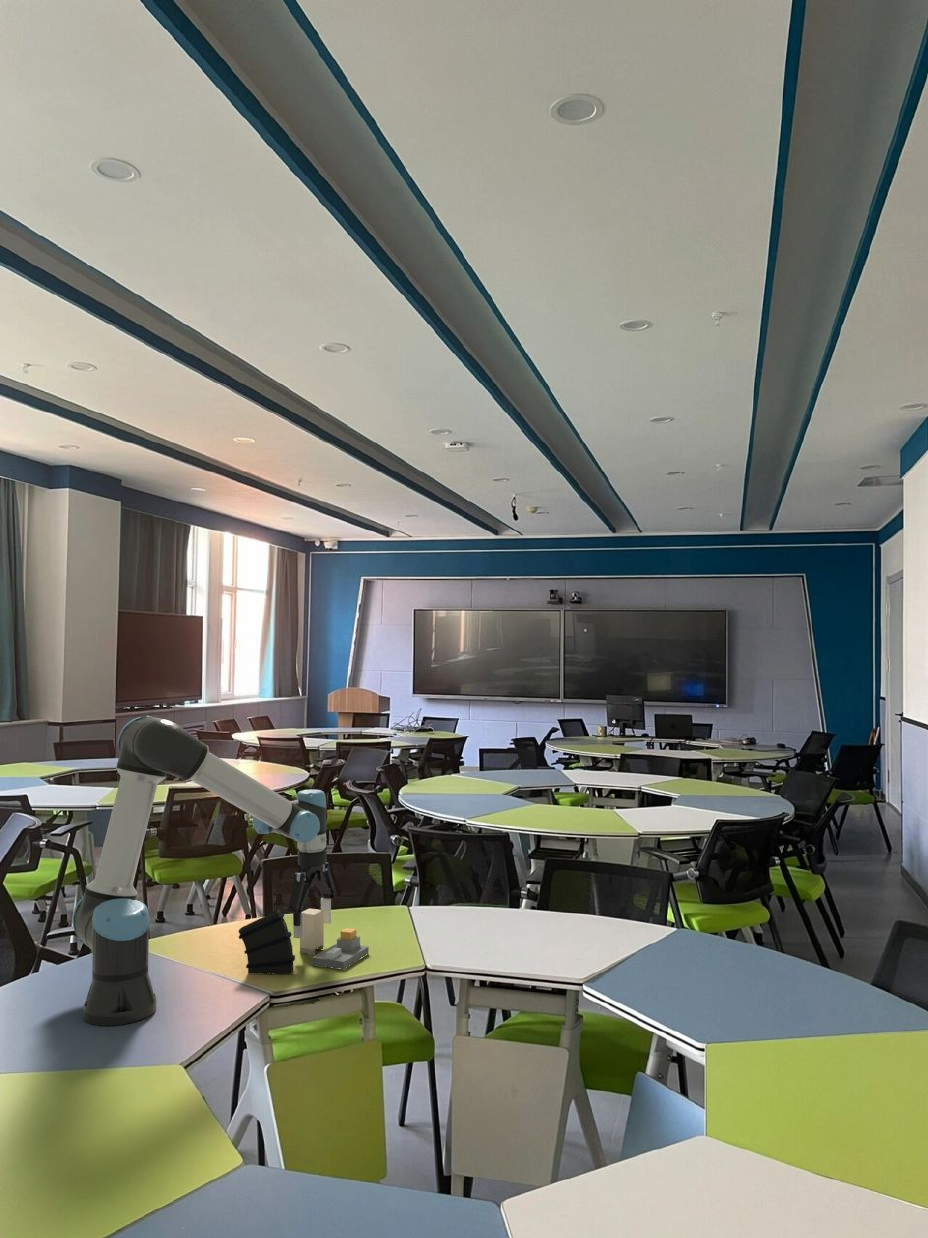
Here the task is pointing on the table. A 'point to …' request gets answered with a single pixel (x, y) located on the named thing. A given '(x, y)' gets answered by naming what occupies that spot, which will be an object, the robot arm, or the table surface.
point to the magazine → (268, 945)
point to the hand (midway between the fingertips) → (312, 930)
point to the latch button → (348, 934)
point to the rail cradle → (341, 954)
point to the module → (312, 931)
